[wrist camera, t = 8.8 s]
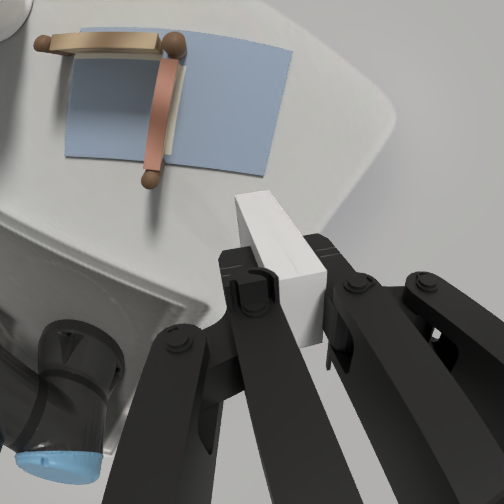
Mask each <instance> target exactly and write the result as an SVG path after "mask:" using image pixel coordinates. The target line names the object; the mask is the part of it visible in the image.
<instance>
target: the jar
mask: <svg viewBox="0 0 504 504" xmlns="http://www.w3.org/2000/svg"><path fill="white" fill-rule="evenodd" d="M32 2H33V0H0V41H3V40H5V39H7V38H9V37H10V36H12V35H13V34H14V33H15V32H16V31H17V30H18V29H19V28H20V27H21V26H22V24H23V23H24V21H25V20H26V18H27V16H28V14H29V12H30V10H31V6H32Z"/></svg>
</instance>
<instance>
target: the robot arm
mask: <svg viewBox="0 0 504 504" xmlns="http://www.w3.org/2000/svg"><path fill="white" fill-rule="evenodd" d="M235 204H236V212H237V220H238V228H239V236H240V244H241V248H235V249H230V250H224V251H222V253H221V255H220V257H219V259H218V261H219V267H220V273H221V278H222V284H223V290H224V295H225V300H226V305H227V310H226V312H225V314H224V316H223V317H222V318H221V319H220V320H219V321H218V322H217V323H215V324H213V325H212V326H210V327H208V328H205V329H203V330H201V329H200V328H198V327H197V326H195V325H191V324H185V323H184V324H176V325H173V326H170V327H168V328H165V329H164V330H163V331H162V332H160V333H159V334H158V335H157V337H156V338H155V340H154V341H153V344H152V347H151V349H150V352H149V355H148V357H147V360H146V363H145V366H144V369H143V371H142V374H141V377H140V380H139V383H138V386H137V389H136V392H135V395H134V398H133V401H132V404H131V407H130V410H129V413H128V416H127V419H126V422H125V425H124V428H123V431H122V434H121V438H120V441H119V444H118V447H117V451H116V454H115V457H114V461H113V464H112V468H111V471H110V474H109V478H108V482H107V485H106V489H105V492H104V496H103V500H102V504H211V498H212V490H213V481H214V473H215V466H216V457H217V449H218V441H219V434H220V426H221V417H222V410H223V400H226V399H227V398H230V397H232V396H234V395H236V394H238V393H240V392H242V391H243V390H244V391H245V396H246V399H247V404H248V408H249V413H250V417H251V421H252V425H253V430H254V434H255V438H256V442H257V446H258V450H259V454H260V458H261V462H262V466H263V470H264V474H265V478H266V482H267V486H268V489H269V493H270V497H271V500H272V504H363V502H362V499H361V497H360V494H359V492H358V489H357V487H356V484H355V482H354V480H353V477H352V475H351V472H350V470H349V468H348V465H347V462H346V460H345V458H344V456H343V453H342V450H341V448H340V446H339V443H338V441H337V439H336V436H335V434H334V431H333V429H332V426H331V424H330V421H329V419H328V417H327V414H326V412H325V409H324V407H323V405H322V402H321V400H320V397H319V395H318V393H317V390H316V388H315V385H314V383H313V381H312V378H311V376H310V373H309V371H308V369H307V366H306V364H305V361H304V359H303V357H302V354H301V352H300V349H299V348H303V347H307V346H311V345H315V344H319V343H322V339H323V330H324V332H325V334H326V336H327V338H328V340H329V342H328V351H327V360H326V368H327V370H330V368H331V361H332V363H333V365H334V367H335V369H336V371H337V373H338V375H339V377H340V379H341V381H342V383H343V385H344V387H345V389H346V391H347V394H348V396H349V398H350V400H351V402H352V404H353V406H354V408H355V410H356V412H357V415H358V417H359V419H360V421H361V423H362V425H363V427H364V429H365V431H366V434H367V436H368V438H369V440H370V442H371V444H372V446H373V448H374V451H375V453H376V455H377V457H378V459H379V461H380V464H381V466H382V468H383V470H384V473H385V475H386V477H387V479H388V481H389V483H390V485H391V488H392V490H393V492H394V495H395V497H396V499H397V501H398V504H504V322H503V321H502V320H500V319H499V318H498V317H496V316H495V315H493V314H492V313H491V312H489V311H488V310H486V309H485V308H484V307H482V306H481V305H480V304H478V303H477V302H475V301H474V300H473V299H471V298H470V297H468V296H467V295H466V294H464V293H463V292H461V291H460V290H458V289H457V288H455V287H454V286H452V285H451V284H449V283H448V282H447V281H445V280H443V279H442V278H440V277H439V276H437V275H435V274H433V273H429V272H415V273H411V274H410V275H409V276H408V277H407V279H406V282H405V286H396V287H386V286H381V284H380V283H379V282H378V281H377V280H376V279H374V278H373V277H372V276H370V275H367V274H365V273H358V272H356V271H355V270H354V269H353V268H352V266H351V265H350V264H349V263H348V262H347V260H346V259H345V258H344V257H343V256H342V254H340V252H339V251H338V250H337V248H335V246H334V245H333V244H332V242H331V241H330V240H329V239H328V238H326V237H324V236H322V235H320V234H318V233H317V234H311V235H305V236H302V235H301V233H300V232H299V231H298V229H297V228H296V227H295V225H294V224H293V222H292V221H291V220H290V218H289V217H288V216H287V214H286V213H285V212H284V210H283V209H282V208H281V206H280V205H279V204H278V202H277V201H276V199H275V198H274V197H273V195H272V194H271V193H270V192H269V190H265V191H258V192H251V193H245V194H238V195H235ZM434 328H436V329H438V330H439V331H440V332H441V336H440V338H439V339H436V338H434V337H432V334H433V331H434ZM123 366H124V357H123V353H122V351H121V349H120V347H119V346H118V344H117V343H116V342H115V341H114V340H113V339H112V338H111V337H110V336H109V335H108V334H106V333H105V332H104V331H102V330H100V329H99V328H97V327H95V326H93V325H90V324H88V323H85V322H81V321H77V320H58V321H55V322H52V323H50V324H49V325H48V326H46V327H45V329H44V330H43V332H42V335H41V337H40V340H39V343H38V374H36V373H35V372H34V371H33V370H31V369H30V368H29V367H27V366H26V365H25V364H24V363H22V362H21V361H20V360H19V359H17V358H16V357H15V356H14V355H13V354H11V353H10V352H9V351H8V350H7V349H5V348H4V347H3V346H2V345H1V344H0V452H1V448H2V446H3V445H5V446H7V447H8V448H10V449H12V450H13V451H15V452H16V455H15V459H16V464H17V465H18V467H20V468H22V469H23V470H24V471H26V472H28V473H30V474H32V475H34V476H37V477H40V478H43V479H46V480H51V481H55V482H60V483H65V484H75V485H83V484H90V483H93V482H95V481H96V480H97V479H98V478H99V475H100V470H101V463H102V459H103V441H104V430H105V420H106V411H107V403H108V399H109V397H110V396H111V394H112V392H113V390H114V389H115V387H116V385H117V384H118V382H119V380H120V378H121V376H122V373H123Z"/></svg>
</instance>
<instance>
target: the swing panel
mask: <svg viewBox="0 0 504 504" xmlns="http://www.w3.org/2000/svg"><path fill="white" fill-rule="evenodd" d="M179 69H180V64H179V60H177V59H168V58H161V61H160V66H159V70H158V75H157V81H156V86H155V91H154V97H153V102H152V108H151V115H150V121H149V128H148V135H147V142H146V149H145V158H144V166H143V169H146V171H145V173H144V174H143V176H142V179H141V183H142V185H143V187H144V188H146V189H154V188H155V187H156V186H157V185H158V183H159V180H160V177H161V174H162V171H163V168H164V165H165V160H164V158H163V157H164V154H165V147H166V140H167V134H168V128H169V122H170V116H171V110H172V105H173V99H174V94H175V89H176V84H177V79H178V74H179Z"/></svg>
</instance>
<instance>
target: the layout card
mask: <svg viewBox="0 0 504 504" xmlns="http://www.w3.org/2000/svg"><path fill="white" fill-rule="evenodd" d="M174 31H176V32H180V33H182V34H183V35H184V37H185V40H186V46H187V55H186V56H185V57H184V58H183V59H182V60H179V64H180V69H179V74H178V79H177V84H176V89H175V94H174V99H173V105H172V110H171V116H170V122H169V128H168V134H167V140H166V147H165V154H164V157H163V158H164V160H165V163H170V164H179V165H188V166H197V167H205V168H213V169H220V170H228V171H235V172H242V173H248V174H255V175H261V176H264V175H265V170H266V166H267V161H268V157H269V153H270V148H271V144H272V139H273V135H274V131H275V126H276V122H277V118H278V113H279V109H280V105H281V100H282V96H283V92H284V87H285V83H286V79H287V74H288V70H289V66H290V61H291V57H292V53H293V51H289V50H286V49H282V48H278V47H274V46H270V45H265V44H261V43H256V42H252V41H247V40H242V39H237V38H231V37H225V36H219V35H213V34H206V33H199V32H191V31H181V30H171V29H158V28H138V27H95V28H81V30H80V33H81V32H148V33H158V34H159V38H160V39H161V40H162V39H163V37H164V36H165V35H166V34H167V33H169V32H174ZM161 58H168V59H171V58H170V57H169V56H168V54H167V53H166V52H165V50H163V55H150V54H131V53H79V54H75V58H74V65H73V72H72V78H71V85H70V93H69V101H68V111H67V122H66V136H65V156H75V157H95V158H112V159H126V160H138V161H144V158H145V149H146V142H147V135H148V128H149V121H150V115H151V108H152V102H153V97H154V91H155V86H156V81H157V75H158V70H159V66H160V61H161Z"/></svg>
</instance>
